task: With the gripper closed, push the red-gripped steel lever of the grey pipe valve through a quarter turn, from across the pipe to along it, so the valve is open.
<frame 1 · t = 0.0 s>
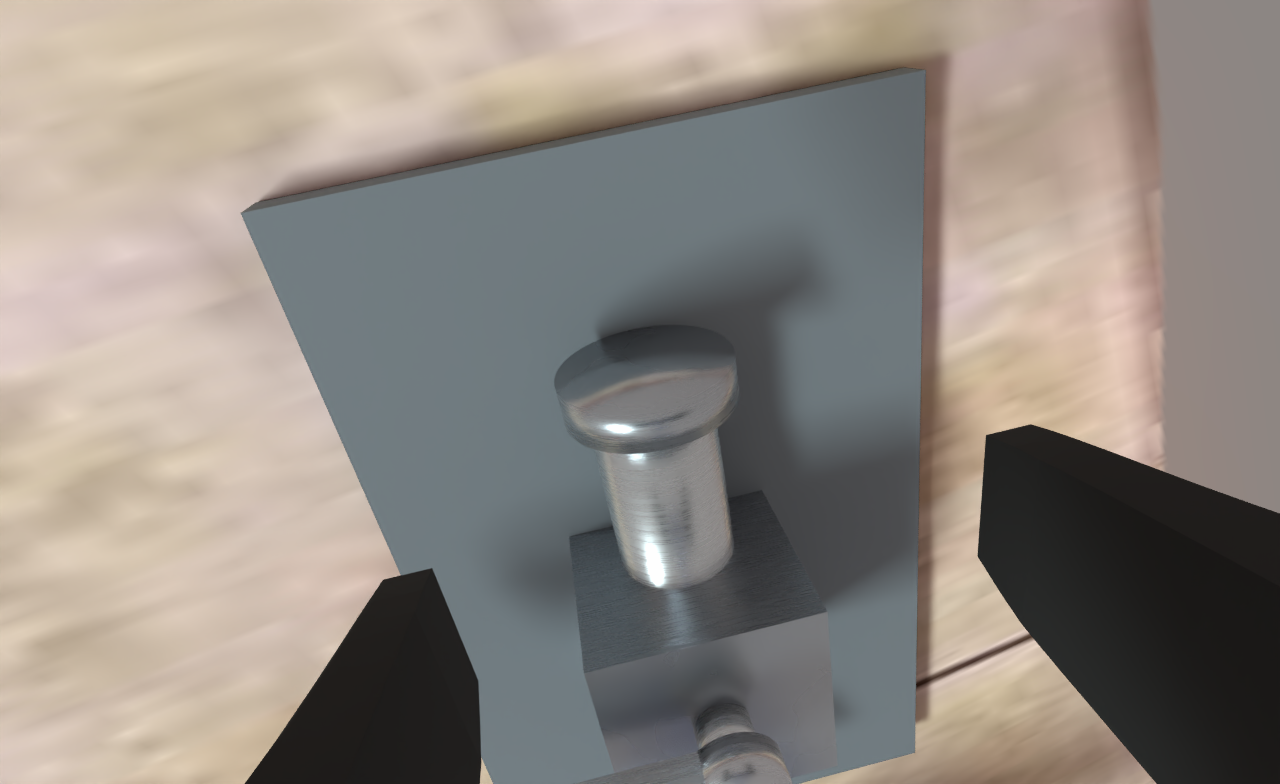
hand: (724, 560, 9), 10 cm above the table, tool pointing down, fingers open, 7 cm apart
valve manifold: (674, 564, 22), resting on mounting plate
mounting plate: (669, 539, 22), on the table
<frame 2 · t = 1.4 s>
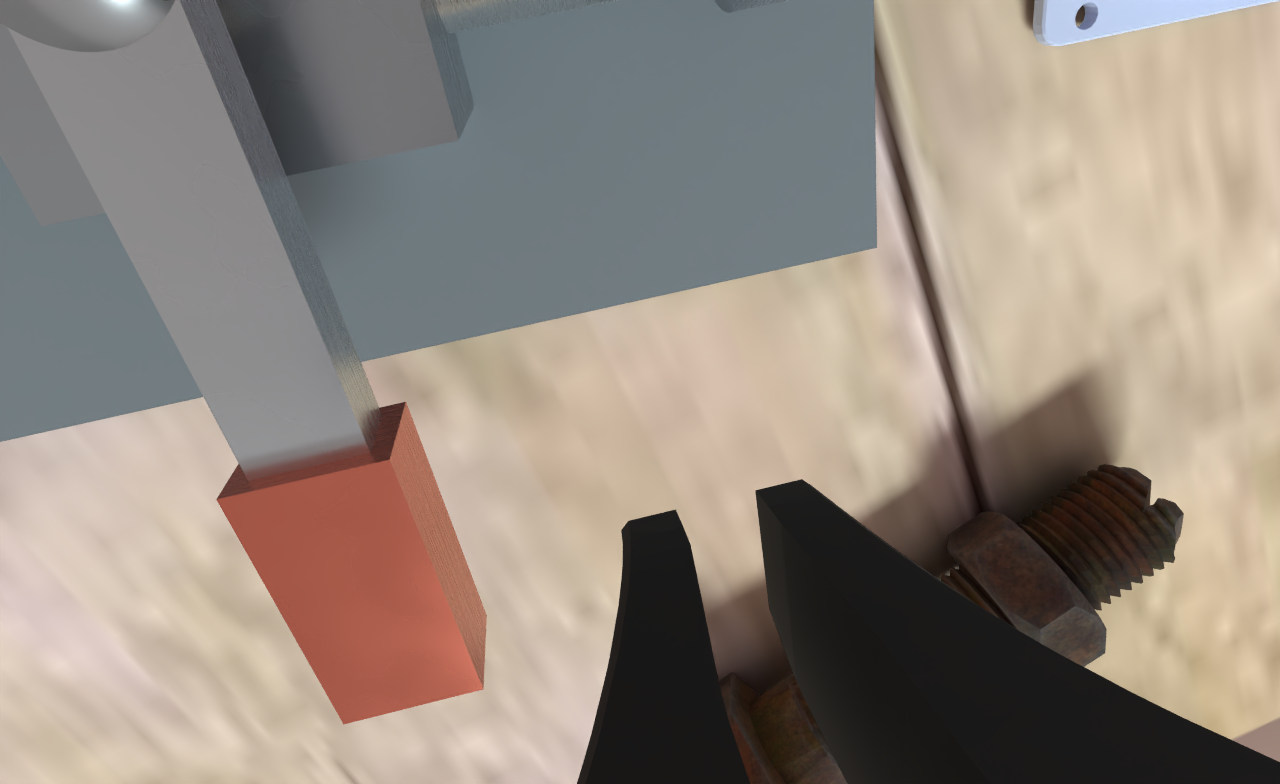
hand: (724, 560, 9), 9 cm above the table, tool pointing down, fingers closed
bolt: (900, 590, 24), on the table
valve lever: (276, 356, 9), point 7 cm above the table, hinge at 0.0°
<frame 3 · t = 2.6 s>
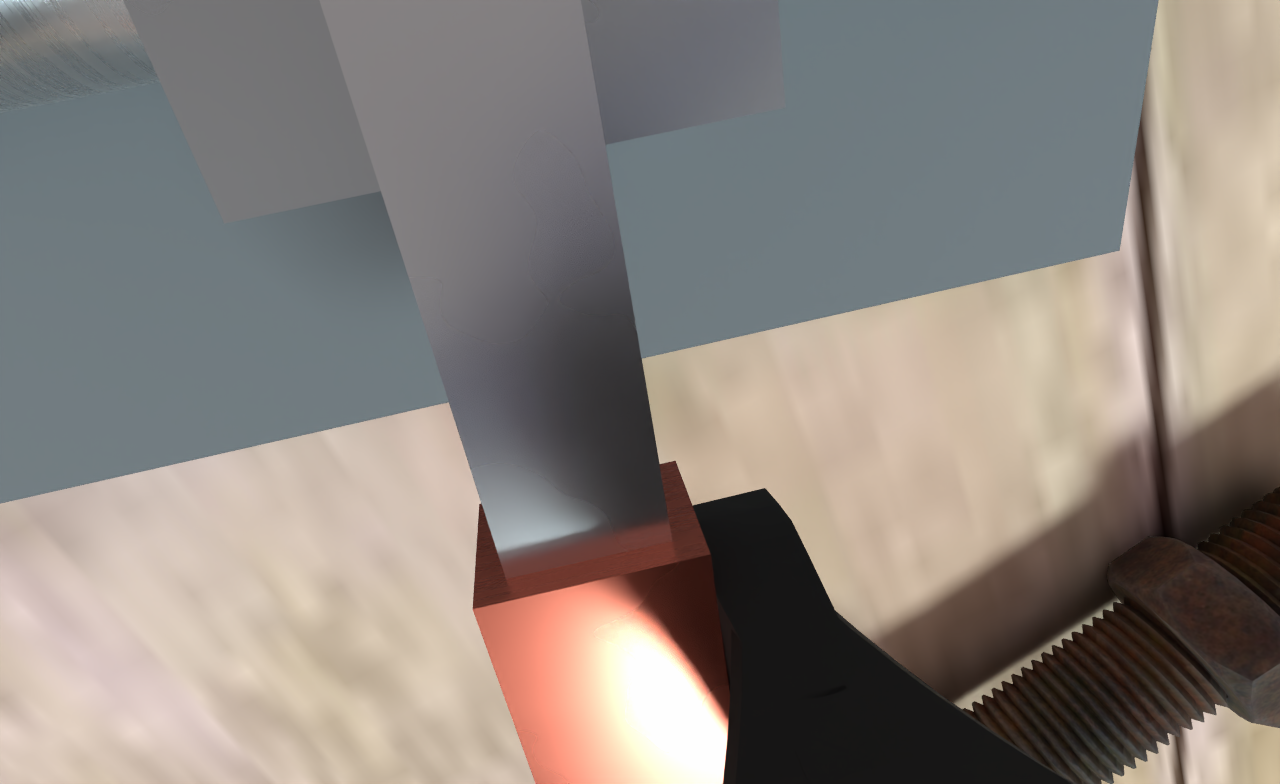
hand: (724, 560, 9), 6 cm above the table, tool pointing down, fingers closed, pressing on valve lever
bolt: (1047, 626, 21), on the table
valve lever: (556, 407, 7), point 7 cm above the table, hinge at 1.0°, touching gripper
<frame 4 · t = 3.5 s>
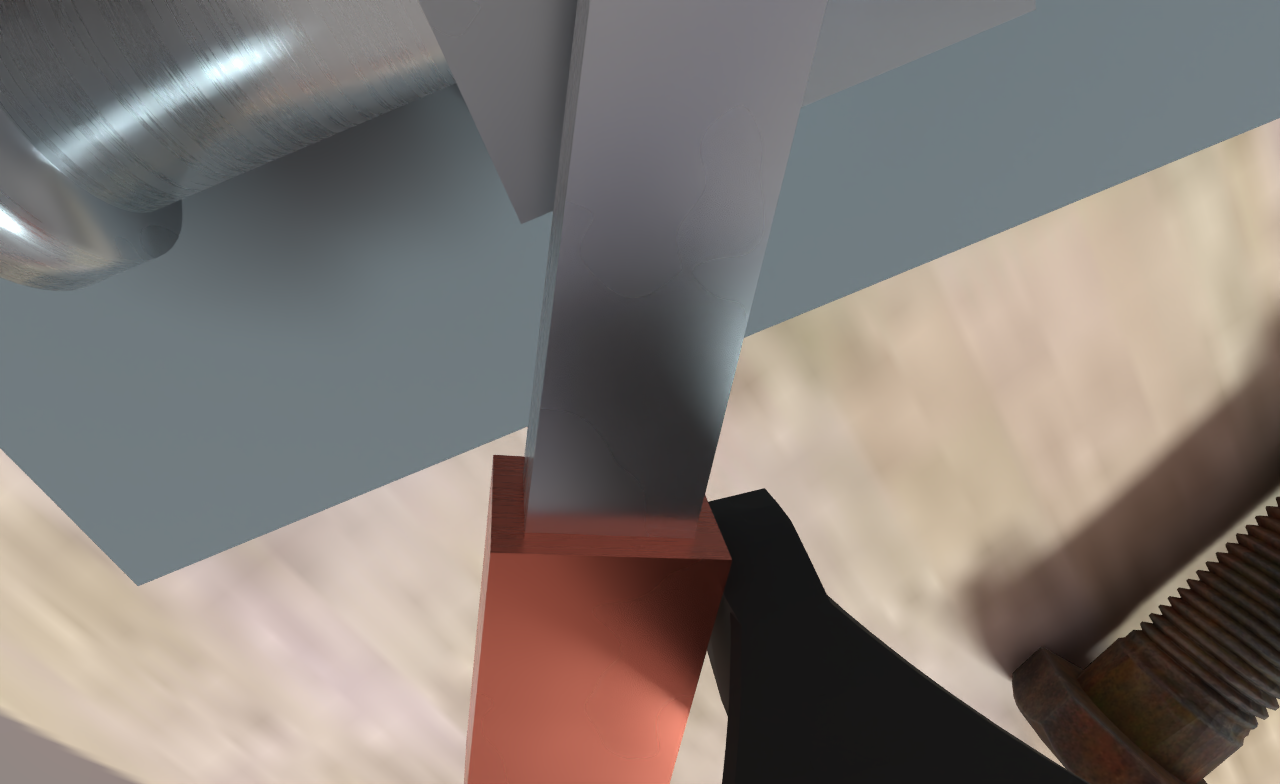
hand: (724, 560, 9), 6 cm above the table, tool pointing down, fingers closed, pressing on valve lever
bolt: (1224, 515, 20), on the table
valve lever: (627, 376, 7), point 7 cm above the table, hinge at 30.2°, touching gripper
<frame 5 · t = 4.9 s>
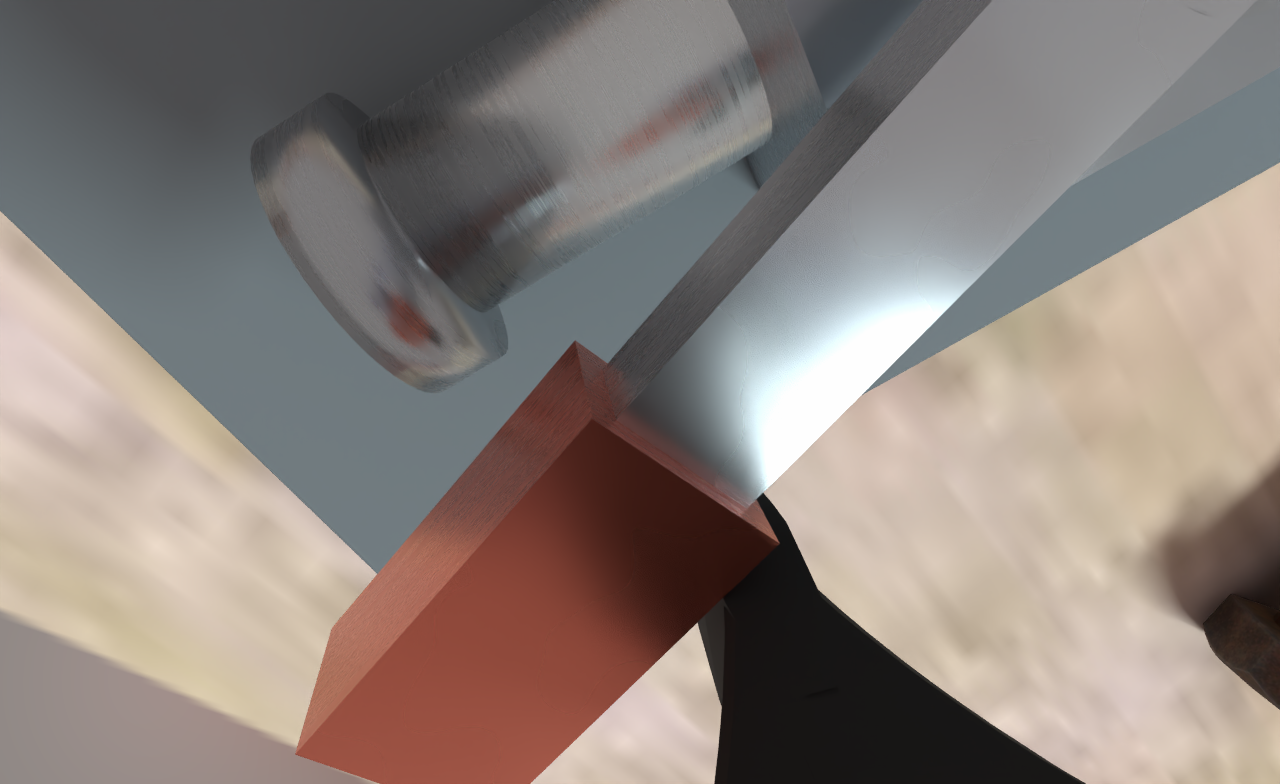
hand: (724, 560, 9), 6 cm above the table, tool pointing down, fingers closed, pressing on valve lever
valve lever: (776, 327, 6), point 7 cm above the table, hinge at 70.0°, touching gripper
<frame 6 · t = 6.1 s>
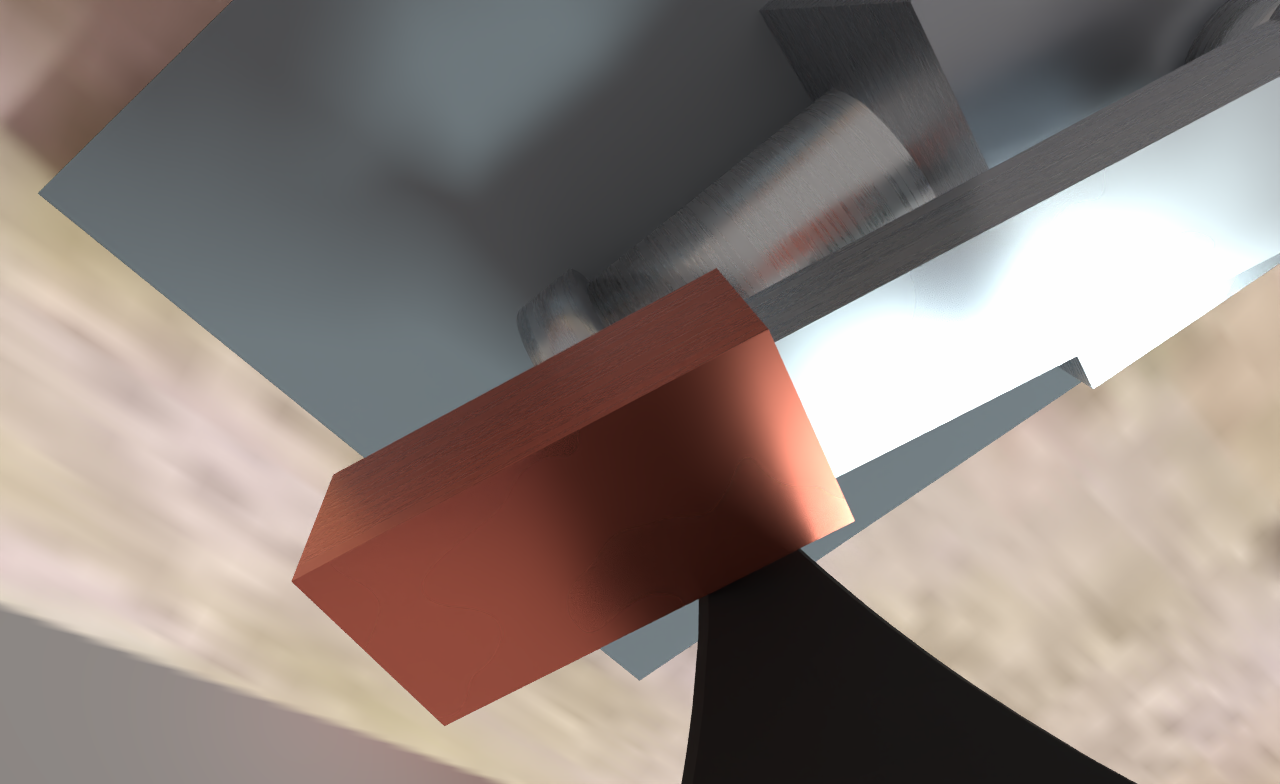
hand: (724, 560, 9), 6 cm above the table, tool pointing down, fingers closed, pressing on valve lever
valve manifold: (951, 45, 13), resting on mounting plate
mounting plate: (903, 83, 13), on the table
valve lever: (918, 320, 7), point 7 cm above the table, hinge at 100.4°, touching gripper
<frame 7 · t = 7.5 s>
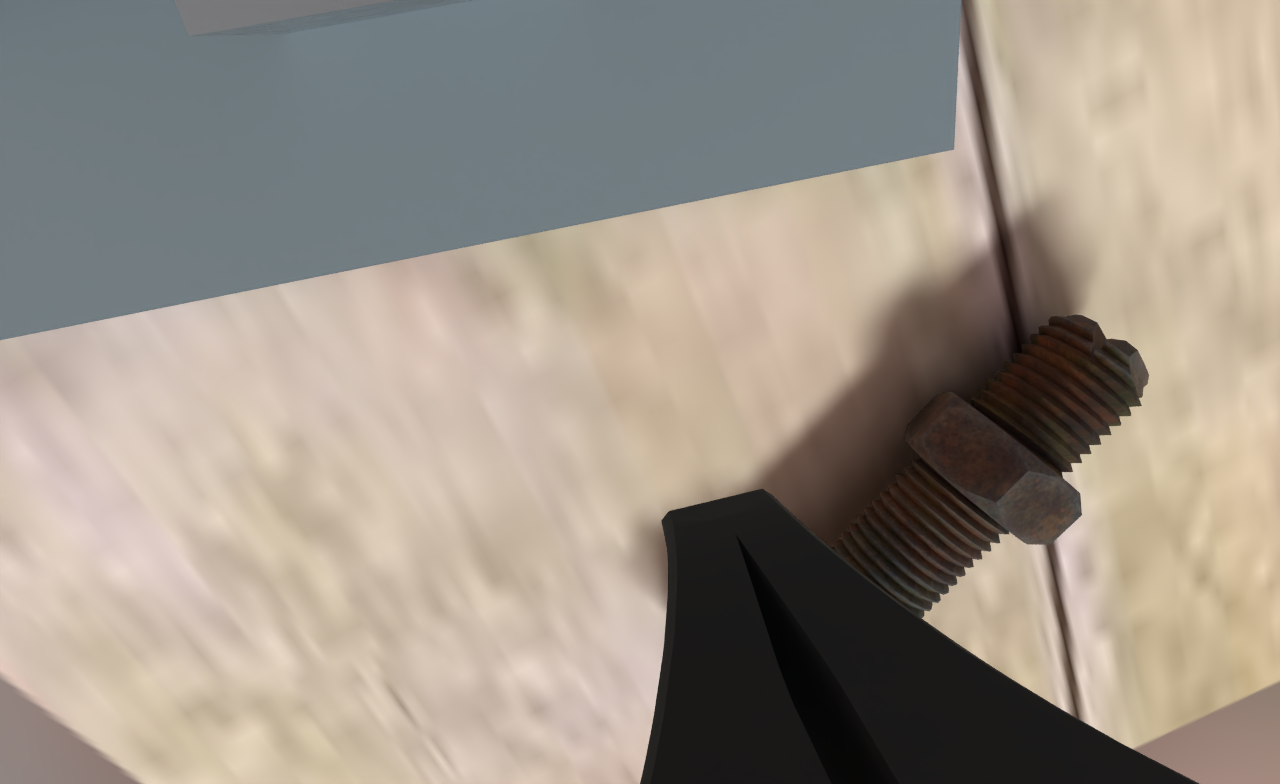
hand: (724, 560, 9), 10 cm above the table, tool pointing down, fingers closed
bolt: (876, 494, 23), on the table
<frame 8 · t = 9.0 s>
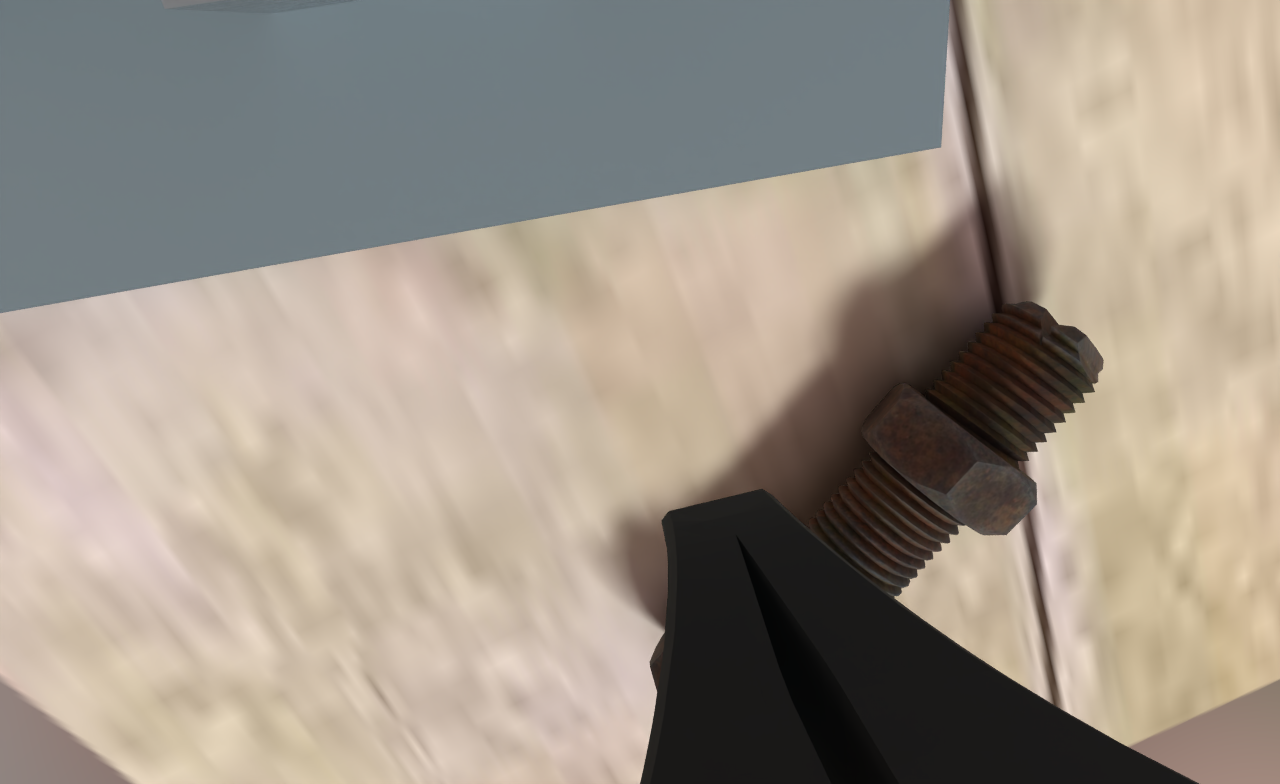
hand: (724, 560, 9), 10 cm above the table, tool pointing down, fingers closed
bolt: (840, 487, 23), on the table
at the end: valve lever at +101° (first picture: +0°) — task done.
